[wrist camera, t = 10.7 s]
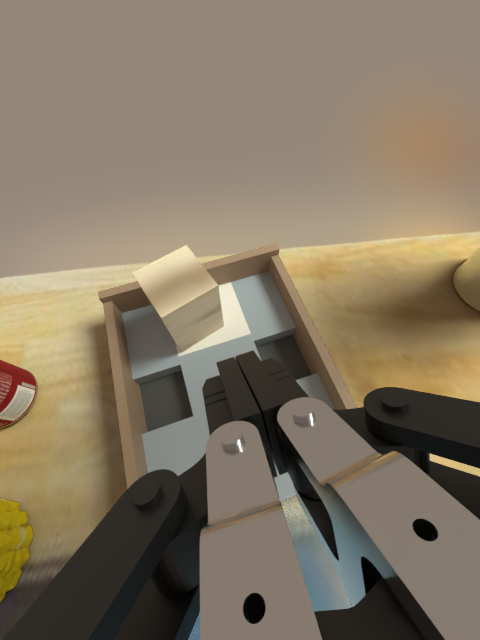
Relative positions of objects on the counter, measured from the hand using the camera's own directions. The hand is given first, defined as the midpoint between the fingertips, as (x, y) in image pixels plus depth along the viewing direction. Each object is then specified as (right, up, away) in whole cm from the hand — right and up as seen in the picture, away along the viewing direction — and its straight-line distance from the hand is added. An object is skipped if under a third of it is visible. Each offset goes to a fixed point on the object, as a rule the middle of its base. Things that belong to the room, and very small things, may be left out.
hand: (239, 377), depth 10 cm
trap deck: (-2, -5, +22) cm, 23 cm away
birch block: (-6, +2, +23) cm, 24 cm away
